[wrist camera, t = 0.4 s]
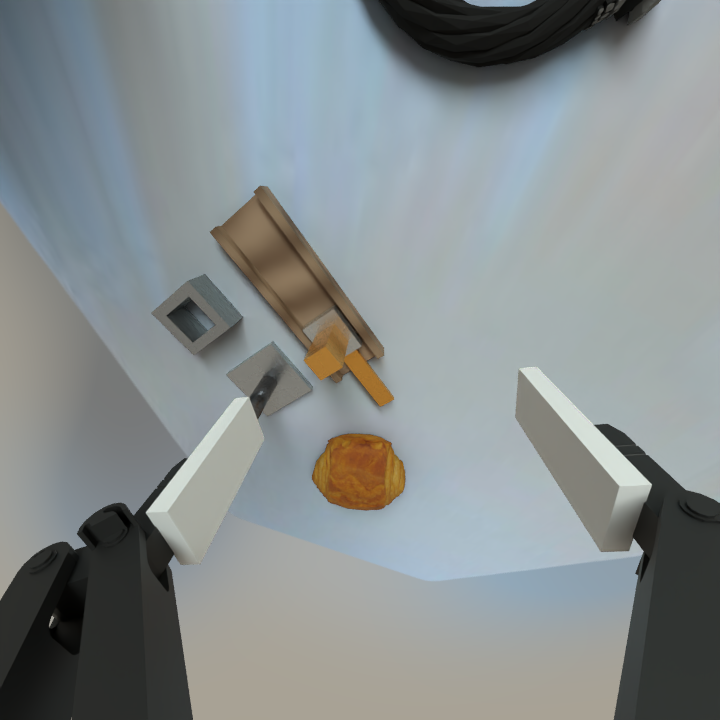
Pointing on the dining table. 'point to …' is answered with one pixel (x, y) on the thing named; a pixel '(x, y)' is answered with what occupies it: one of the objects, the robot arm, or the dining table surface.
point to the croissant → (359, 472)
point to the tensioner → (341, 352)
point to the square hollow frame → (187, 324)
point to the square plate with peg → (269, 380)
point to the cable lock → (503, 26)
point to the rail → (288, 270)
